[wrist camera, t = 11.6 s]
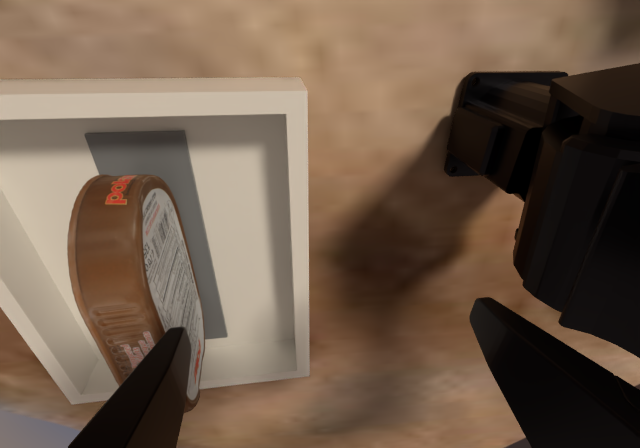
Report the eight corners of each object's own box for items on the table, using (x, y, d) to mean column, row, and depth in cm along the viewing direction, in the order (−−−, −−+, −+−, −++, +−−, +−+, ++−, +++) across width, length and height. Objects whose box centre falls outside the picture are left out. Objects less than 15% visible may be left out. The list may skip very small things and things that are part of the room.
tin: (114, 150, 18) (14, 238, 11) (175, 147, 18) (117, 232, 11) (176, 333, 26) (141, 452, 19) (217, 329, 26) (198, 445, 19)
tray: (299, 77, 18) (307, 90, 15) (304, 336, 30) (309, 376, 27) (-66, 79, 16) (-154, 96, 13) (95, 357, 28) (71, 404, 24)
